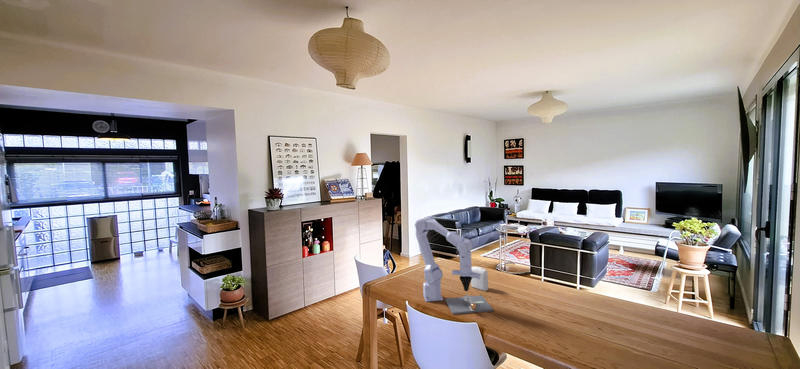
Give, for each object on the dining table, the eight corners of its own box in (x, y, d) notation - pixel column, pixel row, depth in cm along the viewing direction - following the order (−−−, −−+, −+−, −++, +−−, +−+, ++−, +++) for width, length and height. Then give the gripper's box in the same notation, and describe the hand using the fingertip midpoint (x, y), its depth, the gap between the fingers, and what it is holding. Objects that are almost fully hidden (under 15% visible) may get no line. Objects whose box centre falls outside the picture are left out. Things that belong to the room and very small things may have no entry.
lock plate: (452, 314, 152) (452, 310, 152) (445, 300, 168) (445, 296, 168) (493, 310, 154) (493, 306, 154) (481, 297, 170) (481, 293, 170)
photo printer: (470, 286, 184) (469, 266, 184) (474, 284, 187) (473, 264, 186) (484, 291, 176) (484, 270, 176) (489, 289, 179) (488, 268, 178)
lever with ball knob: (461, 299, 163) (461, 294, 163) (471, 298, 163) (471, 294, 163) (469, 310, 150) (469, 305, 150) (479, 309, 151) (479, 304, 151)
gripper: (449, 264, 159) (449, 290, 160) (476, 268, 151) (477, 296, 152) (454, 260, 165) (455, 285, 166) (481, 264, 157) (482, 290, 158)
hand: (466, 290), depth 159 cm, fingers closed
